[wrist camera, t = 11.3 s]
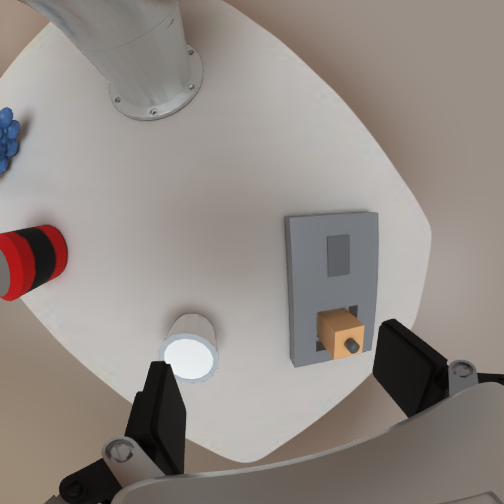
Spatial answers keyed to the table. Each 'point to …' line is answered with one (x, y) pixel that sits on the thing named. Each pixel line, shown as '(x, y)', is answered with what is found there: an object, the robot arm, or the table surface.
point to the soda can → (30, 259)
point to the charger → (340, 332)
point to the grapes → (7, 137)
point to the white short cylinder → (191, 349)
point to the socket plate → (330, 276)
